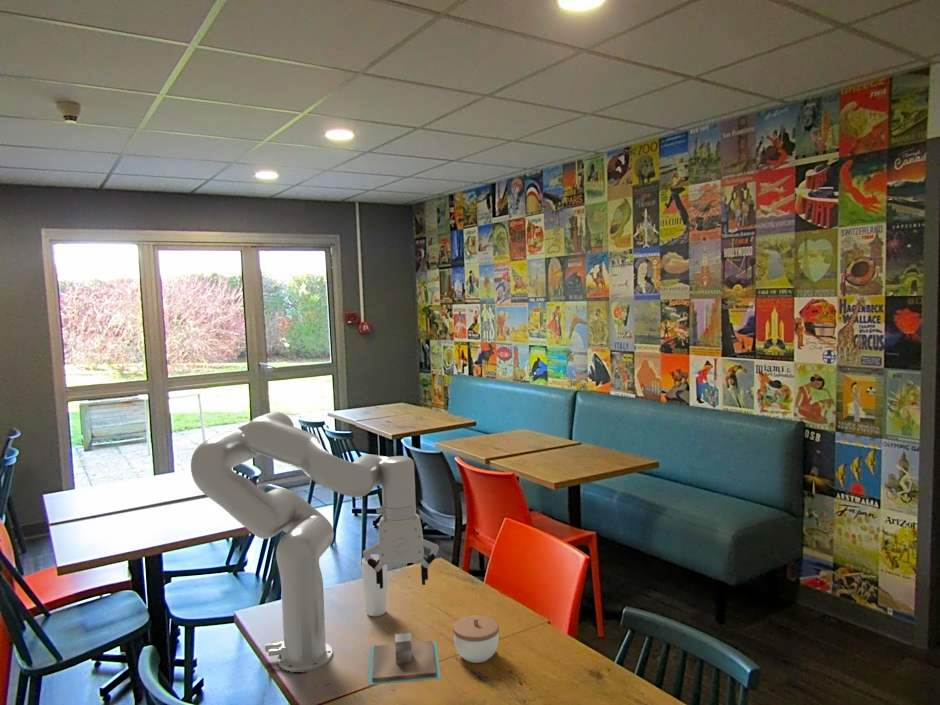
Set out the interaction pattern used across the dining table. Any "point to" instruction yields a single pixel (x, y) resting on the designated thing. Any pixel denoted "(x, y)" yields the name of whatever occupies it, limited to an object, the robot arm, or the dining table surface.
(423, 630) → the dining table surface
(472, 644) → the lidded jar
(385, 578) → the drinking glass
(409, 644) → the walnut cover
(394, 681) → the teal mat
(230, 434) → the robot arm
